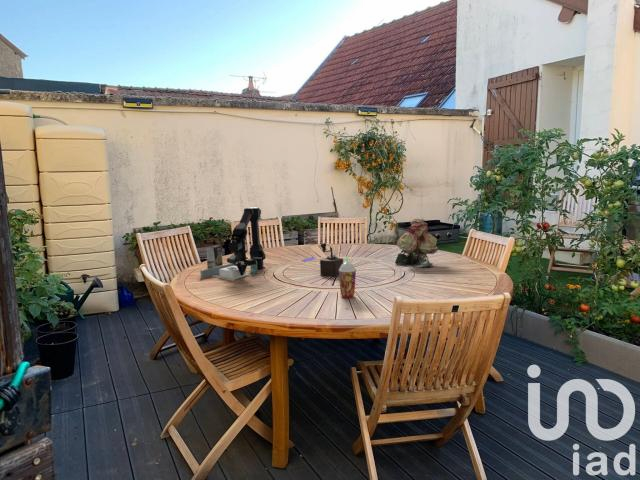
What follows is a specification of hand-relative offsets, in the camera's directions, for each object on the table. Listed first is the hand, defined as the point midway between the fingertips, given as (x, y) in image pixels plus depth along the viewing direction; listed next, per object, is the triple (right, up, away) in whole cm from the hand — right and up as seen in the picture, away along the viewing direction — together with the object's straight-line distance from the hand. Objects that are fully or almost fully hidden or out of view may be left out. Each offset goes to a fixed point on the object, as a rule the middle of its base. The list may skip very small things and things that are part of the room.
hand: (242, 275), depth 256 cm
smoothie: (+59, -7, -40) cm, 72 cm away
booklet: (+46, +6, +47) cm, 66 cm away
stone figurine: (+110, +5, +31) cm, 114 cm away
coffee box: (-21, +1, +21) cm, 29 cm away
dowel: (+5, 0, +11) cm, 12 cm away
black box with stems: (+51, 0, +8) cm, 52 cm away
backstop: (-9, -1, +6) cm, 11 cm away
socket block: (-6, -1, +5) cm, 8 cm away
